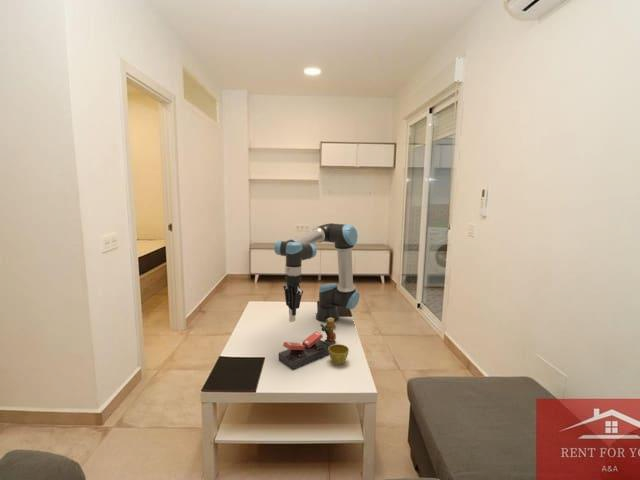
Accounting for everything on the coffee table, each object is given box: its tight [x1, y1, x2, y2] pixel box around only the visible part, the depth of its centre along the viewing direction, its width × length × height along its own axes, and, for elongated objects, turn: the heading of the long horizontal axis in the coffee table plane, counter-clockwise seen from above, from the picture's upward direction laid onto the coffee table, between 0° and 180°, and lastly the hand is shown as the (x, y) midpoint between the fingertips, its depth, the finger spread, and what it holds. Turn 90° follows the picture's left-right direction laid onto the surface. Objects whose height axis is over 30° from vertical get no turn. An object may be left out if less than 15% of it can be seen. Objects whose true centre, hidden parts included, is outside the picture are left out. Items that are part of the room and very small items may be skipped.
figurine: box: [320, 318, 338, 345], centre depth 190 cm, size 9×8×15 cm
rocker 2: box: [301, 330, 324, 348], centre depth 179 cm, size 10×5×2 cm, turn 131°
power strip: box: [278, 339, 331, 371], centre depth 174 cm, size 26×12×6 cm, turn 131°
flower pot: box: [328, 343, 350, 366], centre depth 170 cm, size 10×10×7 cm
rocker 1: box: [282, 341, 305, 350], centre depth 172 cm, size 10×5×2 cm, turn 132°
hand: (292, 320), depth 168 cm, fingers closed
